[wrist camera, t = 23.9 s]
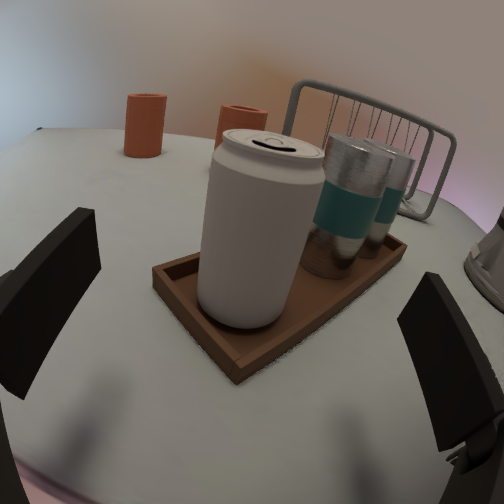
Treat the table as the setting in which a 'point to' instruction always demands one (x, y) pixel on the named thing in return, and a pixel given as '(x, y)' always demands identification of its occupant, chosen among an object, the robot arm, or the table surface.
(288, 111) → the newton's cradle
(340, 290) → the can tray
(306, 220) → the beverage can
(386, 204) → the tray can
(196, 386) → the table surface
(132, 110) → the jar
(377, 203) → the tray can
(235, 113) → the jar
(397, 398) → the table surface
